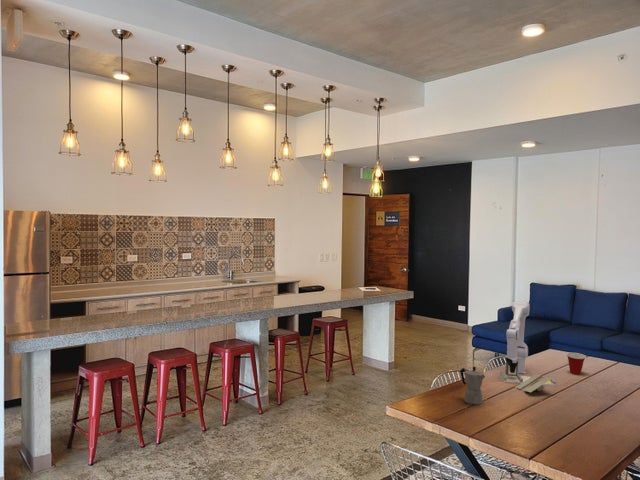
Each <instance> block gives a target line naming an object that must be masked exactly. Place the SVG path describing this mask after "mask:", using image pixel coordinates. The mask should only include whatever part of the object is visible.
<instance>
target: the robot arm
mask: <svg viewBox="0 0 640 480" xmlns="http://www.w3.org/2000/svg"><path fill="white" fill-rule="evenodd" d="M530 308H531V307H530V303H529V302H521V301H520V302H519V301H513V302H512V303H511V310H512V312H513V319H511V320H510V323H509V327H508V329H506V333H505V334H506V342H507V343H506V344H507V345H506V355H504V358H505V360H506V362H508V363H509V366H510V372H511V373H514V372H515V369H516V366H517V364H518V373H519V374H525V375H526V374H527V372H526V359H527V358H528V356H529V347H528V345H527V344H526V343H525V342H524V340H525V327H526V325H525V324H526V318H527V317H528V316H530Z"/></svg>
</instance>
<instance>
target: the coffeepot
mask: <svg viewBox="0 0 640 480" xmlns="http://www.w3.org/2000/svg"><path fill="white" fill-rule="evenodd" d="M476 369H477V367H476V366H472V369H467V368H464V367H462V368H461V369H460V372H459V373H460V377H461V380H462V384H463V385H465V386H466V389H465V394H464V398H463V401H464V402H465V403H467V404H469V405H482V403H483V394H482V390H481V387H482V384H483V380H484V379H485V378H486V375H484V372H481V370H476Z"/></svg>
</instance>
